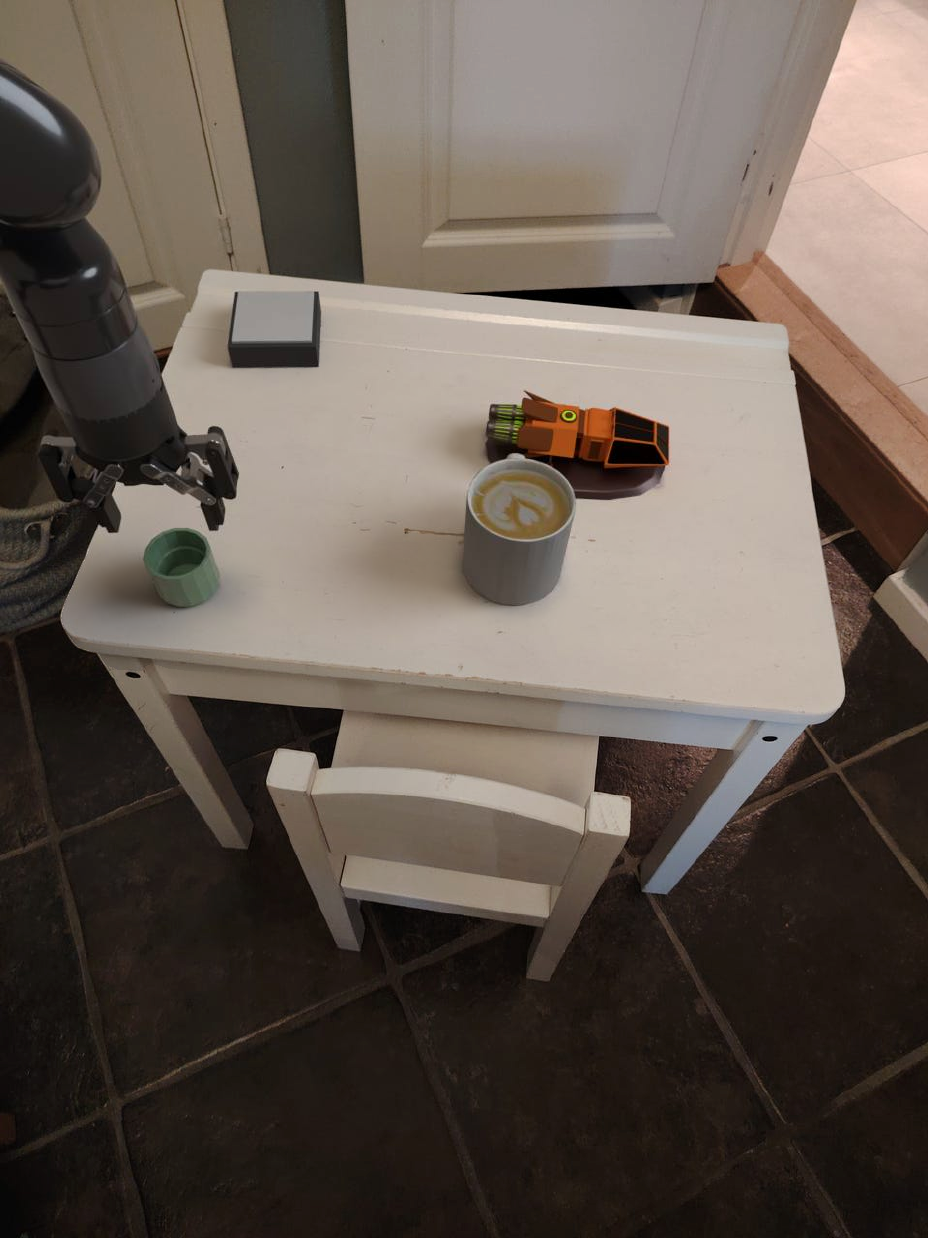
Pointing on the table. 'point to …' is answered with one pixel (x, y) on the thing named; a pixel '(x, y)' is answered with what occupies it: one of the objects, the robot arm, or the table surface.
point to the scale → (275, 329)
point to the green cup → (182, 566)
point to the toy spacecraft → (582, 445)
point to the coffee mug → (516, 530)
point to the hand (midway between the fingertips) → (166, 524)
